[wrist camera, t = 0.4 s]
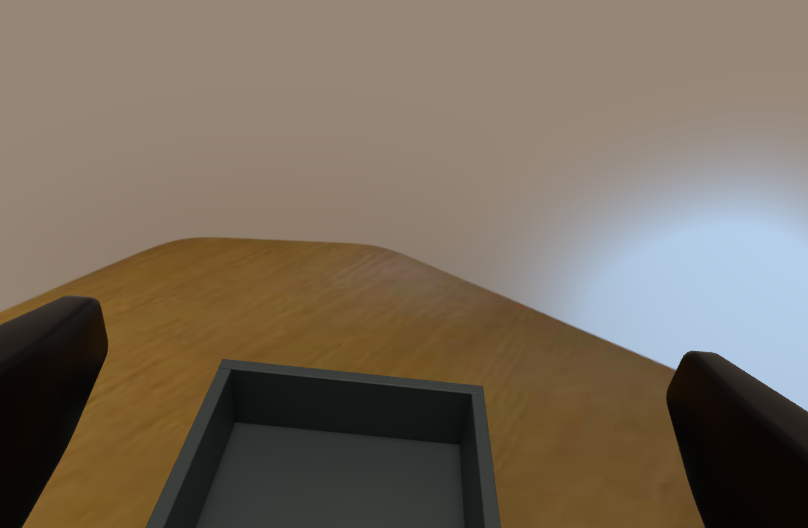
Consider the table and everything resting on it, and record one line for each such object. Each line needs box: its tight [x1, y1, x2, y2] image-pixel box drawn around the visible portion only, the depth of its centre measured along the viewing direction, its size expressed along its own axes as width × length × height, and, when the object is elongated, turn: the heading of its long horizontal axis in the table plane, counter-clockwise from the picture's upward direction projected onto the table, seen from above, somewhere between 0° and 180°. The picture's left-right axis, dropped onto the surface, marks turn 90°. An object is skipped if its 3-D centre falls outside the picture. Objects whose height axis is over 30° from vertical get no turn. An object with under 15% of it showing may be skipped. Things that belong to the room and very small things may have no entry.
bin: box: [146, 359, 501, 528], centre depth 22 cm, size 12×12×4 cm
